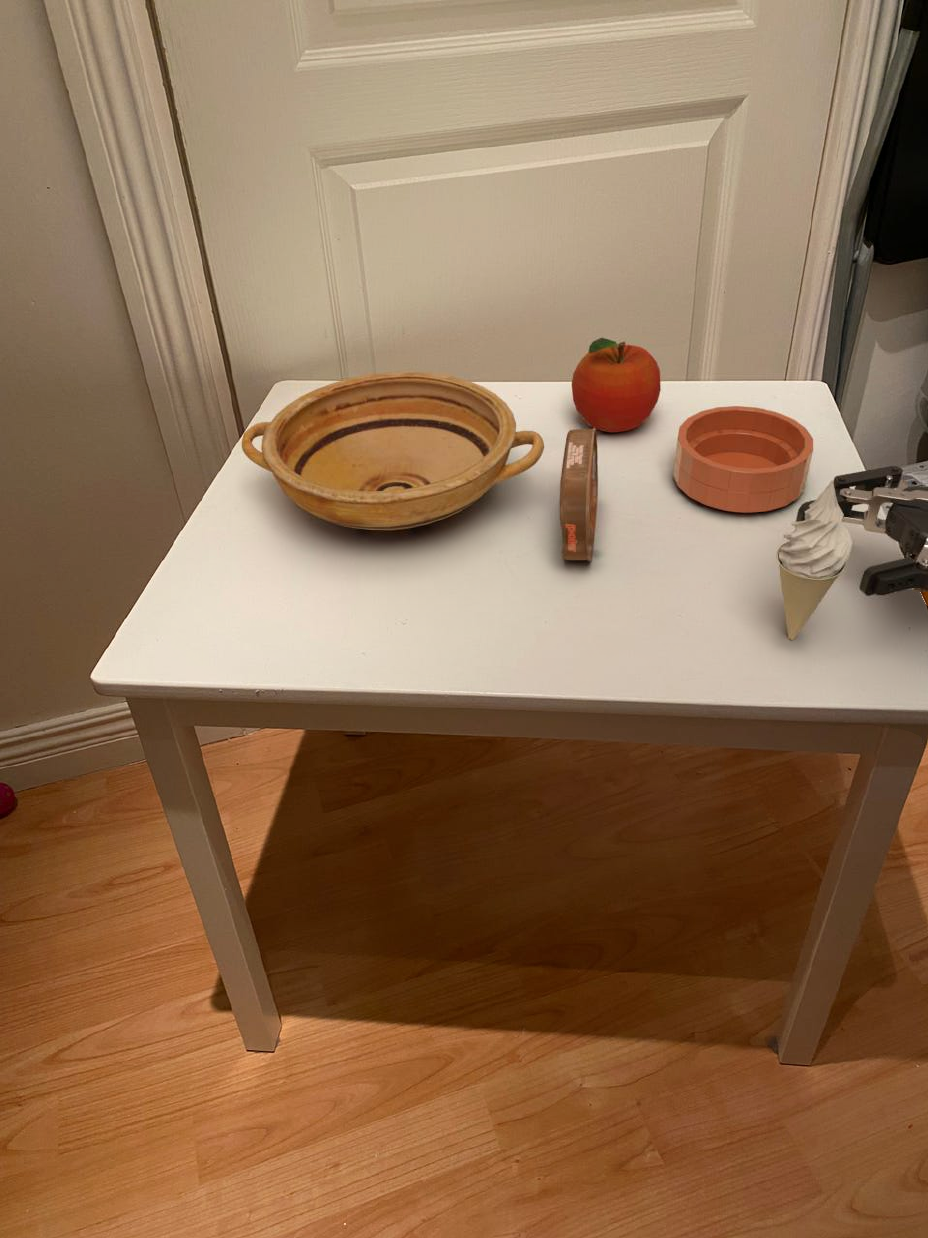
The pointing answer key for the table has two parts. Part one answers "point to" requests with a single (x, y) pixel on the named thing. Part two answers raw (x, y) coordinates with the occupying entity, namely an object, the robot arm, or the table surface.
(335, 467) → the ceramic bowl
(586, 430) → the tin
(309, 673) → the table surface
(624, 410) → the fruit
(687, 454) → the pot
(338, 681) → the table surface
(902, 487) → the robot arm
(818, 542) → the ice cream cone
